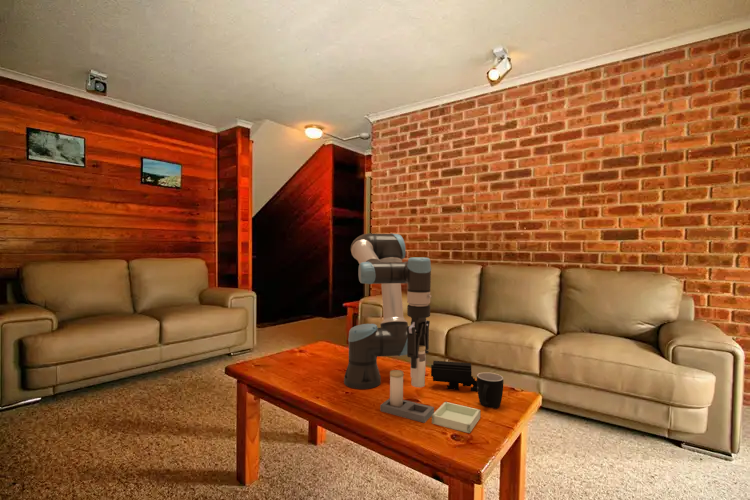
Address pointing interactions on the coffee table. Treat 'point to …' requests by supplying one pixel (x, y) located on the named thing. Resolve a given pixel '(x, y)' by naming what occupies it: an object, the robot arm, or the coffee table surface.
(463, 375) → the security camera
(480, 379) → the mug
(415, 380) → the fuse
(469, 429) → the parts tray
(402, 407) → the block
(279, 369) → the coffee table surface
